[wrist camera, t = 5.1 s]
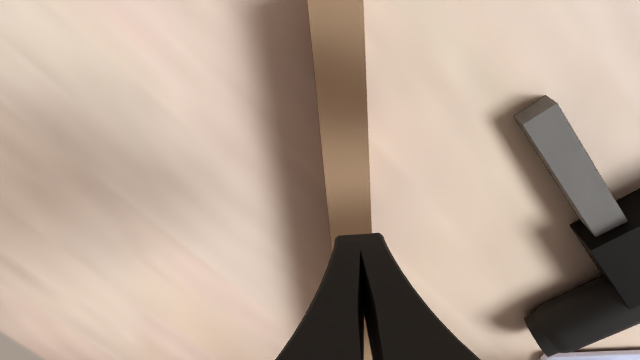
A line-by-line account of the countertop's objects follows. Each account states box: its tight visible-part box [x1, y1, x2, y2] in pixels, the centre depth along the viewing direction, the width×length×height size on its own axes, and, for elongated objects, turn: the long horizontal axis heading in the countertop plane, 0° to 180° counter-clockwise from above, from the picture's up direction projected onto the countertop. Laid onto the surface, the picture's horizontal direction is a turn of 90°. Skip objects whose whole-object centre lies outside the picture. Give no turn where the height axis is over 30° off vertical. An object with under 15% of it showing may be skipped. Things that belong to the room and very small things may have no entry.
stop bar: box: [307, 0, 372, 360], centre depth 22 cm, size 22×2×3 cm, turn 5°
